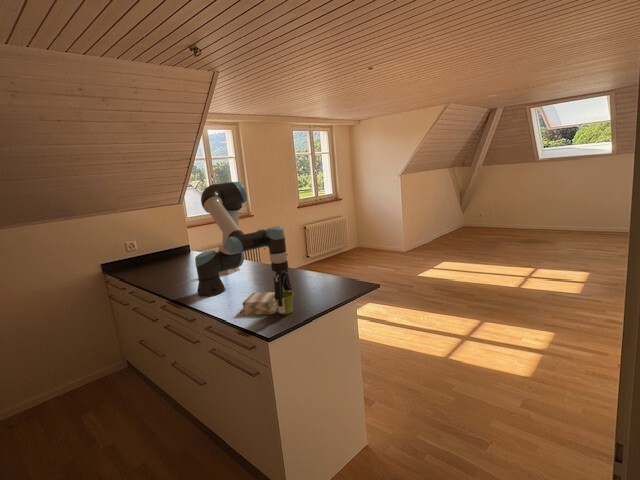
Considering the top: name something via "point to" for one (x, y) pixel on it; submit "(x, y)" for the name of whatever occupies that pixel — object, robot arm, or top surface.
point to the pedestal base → (260, 304)
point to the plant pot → (287, 302)
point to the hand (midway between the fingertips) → (285, 308)
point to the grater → (228, 270)
